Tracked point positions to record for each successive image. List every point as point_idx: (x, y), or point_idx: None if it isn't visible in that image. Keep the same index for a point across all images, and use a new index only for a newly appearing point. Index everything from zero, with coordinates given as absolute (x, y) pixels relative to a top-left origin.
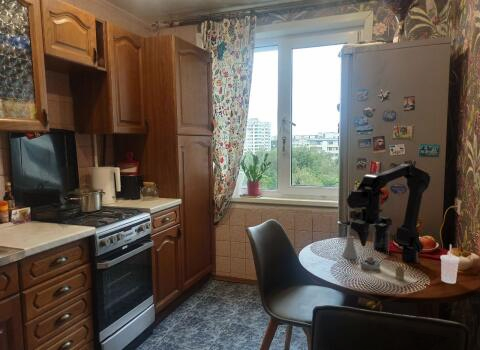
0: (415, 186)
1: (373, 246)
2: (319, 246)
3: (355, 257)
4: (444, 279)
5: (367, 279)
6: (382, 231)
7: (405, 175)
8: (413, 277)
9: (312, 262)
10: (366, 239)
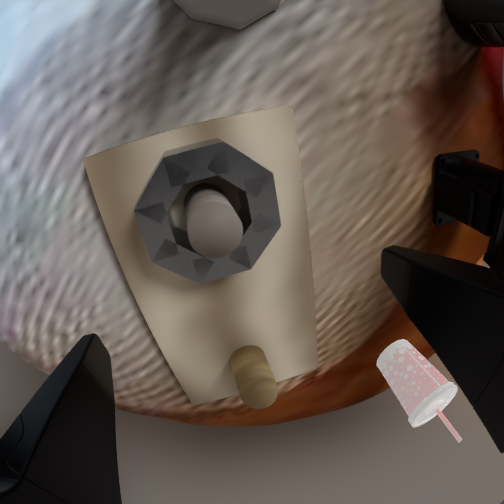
0: None
1: None
2: None
3: (238, 15)
4: (381, 366)
5: (109, 303)
6: (477, 392)
7: None
8: (313, 352)
9: None
10: (106, 466)
